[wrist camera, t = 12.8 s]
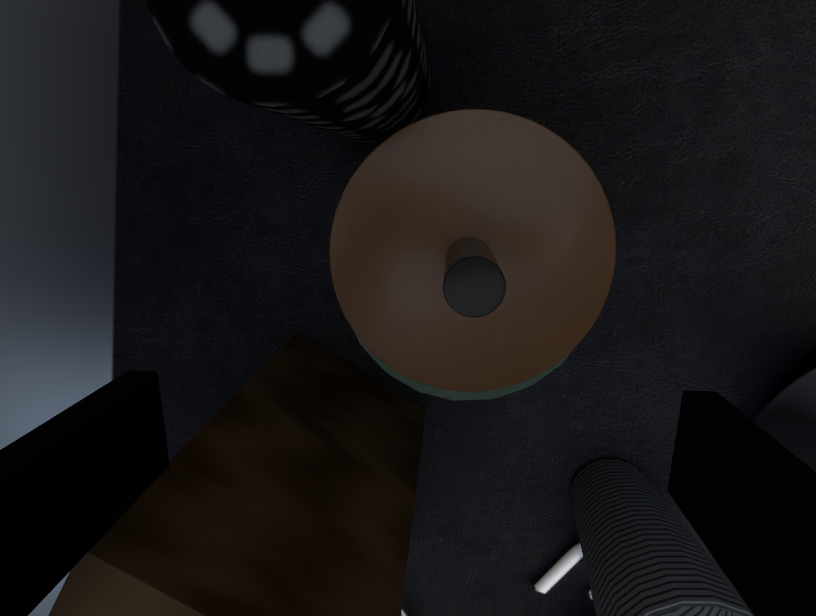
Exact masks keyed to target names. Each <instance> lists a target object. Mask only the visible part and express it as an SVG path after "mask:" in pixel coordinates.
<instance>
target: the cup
mask: <svg viewBox="0 0 816 616" xmlns="http://www.w3.org/2000/svg"><path fill="white" fill-rule="evenodd" d="M570 499H571V503H572V508H573V512H574V517H575V521H576V526H577V530H578V535H579V539H580V544H581V548H582V553H583V557H584V562H585V566H586V571H587V575H588V580H589V584H590V589H591V593H592V598H593V602H594V607H595V611H596V616H754V615H753V613H752V612H751V610H750V609H749V608H748V606H747V605H746V603H745V602H744V600H743V599H742V598H741V596H740V595H739V593H738V592H737V590H736V589H735V587H734V586H733V585H732V583H731V582H730V580H729V579H728V578H727V577H726V576H725V574H724V573H723V572H722V571H721V569H720V568H719V567H718V566H717V565H716V563H715V562H714V561H713V560H712V558H711V557H710V556H709V555H708V554H707V552H706V551H705V550H704V549H703V547H702V546H701V545H700V544H699V543H698V541H697V540H696V539H695V538H694V536H693V535H692V534H691V533H690V532H689V530H688V529H687V528H686V527H685V526H684V524H683V523H682V522H681V521H680V519H679V518H678V517H677V516H676V515H675V513H674V512H673V511H672V510H671V508H670V507H669V506H668V505H667V504H666V502H665V501H664V500H663V499H662V497H661V496H660V495H659V494H658V493H657V491H656V490H655V489H654V488H653V486H652V485H651V484H650V483H649V482H648V480H647V479H646V478H645V477H644V475H643V474H642V473H641V472H640V471H639V470H638V469H636V468H635V467H634V466H633V465H632V464H631V463H628V462H625V461H622V460H619V459H616V458H614V459H599V460H596V461H593V462H591V463H588V464H586V465H585V466H584V467H583V468H582V469H581V470H580V471H578V472H577V473H576V475H575V477H574V479H573V482H572V484H571V486H570Z"/></svg>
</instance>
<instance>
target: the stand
mask: <svg viewBox="0 0 816 616" xmlns="http://www.w3.org/2000/svg"><path fill="white" fill-rule="evenodd" d="M424 417H425V409H424V408H422V407H420V406H419V405H417V404H415V403H413V402H412V401H410V400H408V399H407V398H405V397H403V396H402V395H400V394H398V393H396V392H395V391H393V390H391V389H390V388H388V387H386V386H385V385H383V384H381V383H379V382H378V381H376V380H374V379H373V378H371V377H369V376H368V375H366V374H364V373H362V372H361V371H359V370H357V369H356V368H354V367H352V366H351V365H349V364H347V363H346V362H344V361H342V360H340V359H339V358H337V357H335V356H334V355H332V354H330V353H329V352H327V351H325V350H323V349H322V348H320V347H318V346H317V345H315V344H313V343H312V342H310V341H308V340H306V339H305V338H303V337H301V336H300V335H298V334H295V335H294V336H293V337H292V338H291V339H290V340H289V341H288V342H287V343H286V344H285V345H284V346H283V347H282V348H281V349H280V350H279V351H278V352H277V353H276V354H275V355H274V356H273V357H272V358H271V359H270V360H269V361H268V362H267V363H266V364H265V365H264V366H263V367H262V368H261V369H260V370H259V371H258V372H257V373H256V374H255V375H254V376H253V377H252V378H251V379H250V380H249V381H248V382H247V383H246V384H245V385H244V386H243V387H242V388H241V389H240V390H239V391H238V392H237V393H236V394H235V395H234V396H233V397H232V398H231V399H230V400H229V401H228V402H227V403H226V404H225V405H224V406H223V407H222V408H221V409H220V410H219V411H218V412H217V413H216V414H215V415H214V416H213V417H212V418H211V419H210V420H209V421H208V422H207V423H206V424H205V425H204V426H203V427H202V428H201V429H200V430H199V431H198V432H197V433H196V434H195V435H194V436H193V437H192V438H191V439H190V440H189V441H188V442H187V443H186V444H185V445H184V446H183V447H182V448H181V449H180V450H179V451H178V452H177V453H176V454H175V455H174V456H173V457H172V458H171V459H170V460H169V465H170V466H169V467H168V468H167V469H166V470H165V471H164V472H163V473H162V474H161V475H160V476H159V478H158V479H157V480H156V481H155V482H154V483H153V484H152V485H151V486H150V487H149V488H148V489H147V490H146V491H145V492H144V493H143V494H142V496H141V497H140V498H139V499H138V500H137V501H136V502H135V503H134V504H133V505H132V506H131V507H130V508H129V509H128V510H127V511H126V512H125V513H124V515H123V516H122V517H121V518H120V519H119V520H118V521H117V522H116V523H115V524H114V525H113V526H112V527H111V528H110V529H109V530H108V531H107V532H106V534H105V535H104V536H103V537H102V538H101V539H100V540H99V541H98V542H97V543H96V544H95V545H94V546H93V547H92V548H91V549H90V550H89V551H88V553H87V554H86V555H85V556H84V557H83V558H82V559H81V560H80V561H79V562H78V563H77V564H76V565H75V566H74V567H73V568H72V569H71V571H70V573H69V575H68V577H67V579H66V581H65V583H64V585H63V587H62V589H61V591H60V593H59V595H58V597H57V600H56V601H55V603H54V606H53V607H52V609H51V611H50V614H49V616H401V610H402V602H403V594H404V585H405V577H406V568H407V560H408V552H409V543H410V535H411V526H412V518H413V510H414V501H415V493H416V484H417V476H418V468H419V459H420V451H421V442H422V434H423V426H424Z"/></svg>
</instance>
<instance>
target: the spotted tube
mask: <svg viewBox="0 0 816 616" xmlns="http://www.w3.org/2000/svg"><path fill="white" fill-rule="evenodd" d="M146 2H147V5H148V8H149V11H150V14H151V16H152V19H153V21H154V23H155V25H156V26H157V28H158V30H159V32H160V34H161V36H162V38H163V39H164V41H165V43H166V44H167V46H168V47H169V48H170V49H171V51H172V52H173V53H174V55H175V56H176V57H177V58H178V60H179V61H180V62H181V64H182V65H183V66H184V67H186V68H187V69H188V70H189V71H190V72H191V73H192V74H193V75H194V76H196V77H197V78H198V79H199V80H200V81H201V82H202V83H204V84H206V85H207V86H209V87H211V88H212V89H214V90H216V91H217V92H219V93H221V94H222V95H224V96H227V97H230V98H232V99H235V100H238V101H241V102H243V103H246V104H249V105H252V106H255V107H258V108H261V109H264V110H267V111H270V112H272V113H275V114H278V115H281V116H284V117H287V118H290V119H293V120H296V121H299V122H302V123H304V124H307V125H310V126H313V127H316V128H319V129H322V130H325V131H328V132H331V133H334V134H337V135H339V136H342V137H345V138H348V139H351V140H354V141H357V142H363V143H381V142H383V141H385V140H386V139H387V138H388V137H390V136H391V135H392V134H394V133H395V132H397V131H399V130H401V129H402V128H404V127H406V126H407V125H409V124H411V123H414V122H416V120H417V119H418V118H419V117H420V115H421V113H422V111H423V109H424V108H425V105H426V102H427V99H428V96H429V92H430V85H431V71H430V64H429V60H428V55H427V51H426V46H425V42H424V37H423V33H422V28H421V24H420V19H419V15H418V10H417V6H416V1H415V0H146Z"/></svg>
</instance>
